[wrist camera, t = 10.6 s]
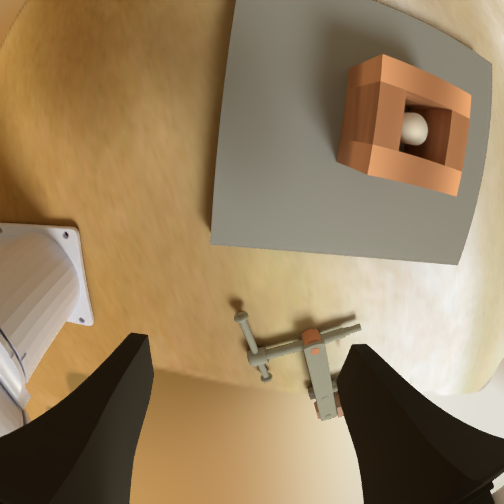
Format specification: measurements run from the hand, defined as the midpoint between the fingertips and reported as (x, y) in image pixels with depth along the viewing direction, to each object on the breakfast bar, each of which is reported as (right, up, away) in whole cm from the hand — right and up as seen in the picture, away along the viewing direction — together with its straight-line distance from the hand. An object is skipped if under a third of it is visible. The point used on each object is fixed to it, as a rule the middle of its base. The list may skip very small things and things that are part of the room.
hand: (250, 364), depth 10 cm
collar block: (+8, +11, +4) cm, 14 cm away
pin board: (+7, +11, +6) cm, 15 cm away
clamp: (+5, -5, +14) cm, 16 cm away
